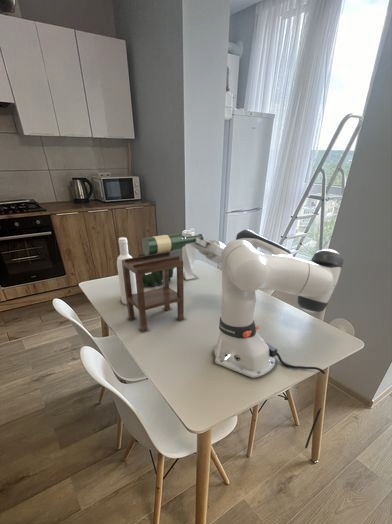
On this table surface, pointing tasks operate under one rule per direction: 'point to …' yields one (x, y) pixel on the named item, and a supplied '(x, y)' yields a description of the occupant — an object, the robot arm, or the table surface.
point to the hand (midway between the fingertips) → (192, 238)
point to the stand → (156, 295)
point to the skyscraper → (188, 257)
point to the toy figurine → (155, 276)
